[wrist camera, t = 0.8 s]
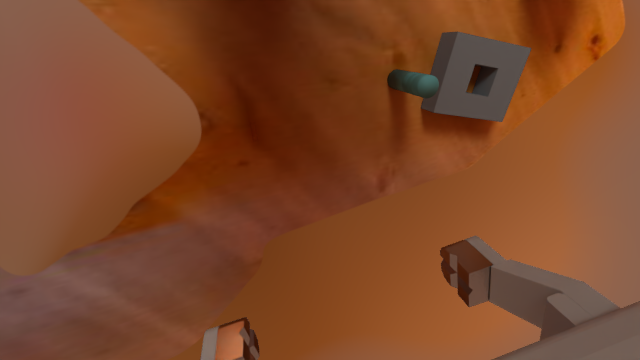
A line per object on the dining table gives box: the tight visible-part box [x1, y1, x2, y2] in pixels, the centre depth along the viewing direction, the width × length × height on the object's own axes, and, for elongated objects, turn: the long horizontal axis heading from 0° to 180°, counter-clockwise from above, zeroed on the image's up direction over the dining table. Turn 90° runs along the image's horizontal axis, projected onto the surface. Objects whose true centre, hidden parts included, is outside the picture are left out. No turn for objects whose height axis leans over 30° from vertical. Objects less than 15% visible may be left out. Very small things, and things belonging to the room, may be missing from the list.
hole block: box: [421, 32, 531, 122], centre depth 50 cm, size 12×14×4 cm
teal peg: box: [387, 70, 439, 98], centre depth 44 cm, size 3×3×10 cm
